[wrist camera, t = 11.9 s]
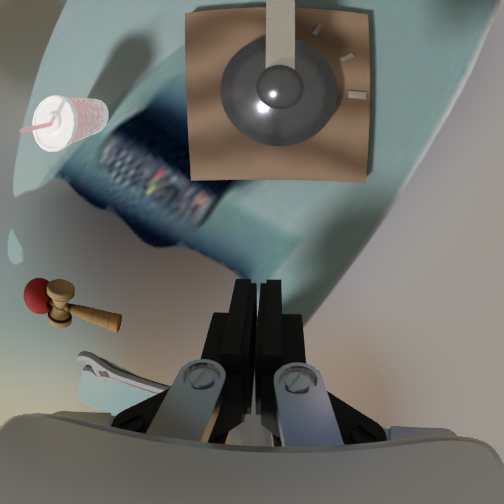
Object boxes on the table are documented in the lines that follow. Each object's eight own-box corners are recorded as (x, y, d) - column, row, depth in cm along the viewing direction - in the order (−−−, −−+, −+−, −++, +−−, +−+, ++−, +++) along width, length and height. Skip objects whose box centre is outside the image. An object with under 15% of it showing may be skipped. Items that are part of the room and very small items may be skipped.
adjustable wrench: (202, 393, 56) (201, 401, 54) (195, 410, 58) (193, 417, 57) (80, 346, 53) (76, 352, 51) (80, 366, 56) (77, 372, 54)
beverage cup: (109, 87, 33) (37, 88, 20) (118, 132, 35) (50, 152, 23) (71, 101, 33) (-3, 112, 21) (79, 144, 36) (9, 170, 24)
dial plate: (362, 179, 36) (366, 183, 34) (194, 177, 37) (190, 180, 36) (364, 17, 27) (368, 13, 26) (188, 16, 29) (184, 12, 27)
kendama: (126, 290, 47) (29, 262, 44) (115, 322, 42) (12, 289, 39) (124, 320, 52) (36, 293, 48) (115, 349, 47) (22, 319, 43)
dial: (332, 147, 33) (346, 158, 27) (222, 143, 34) (209, 153, 27) (335, 7, 26) (349, -14, 19) (223, 3, 27) (210, -19, 20)
